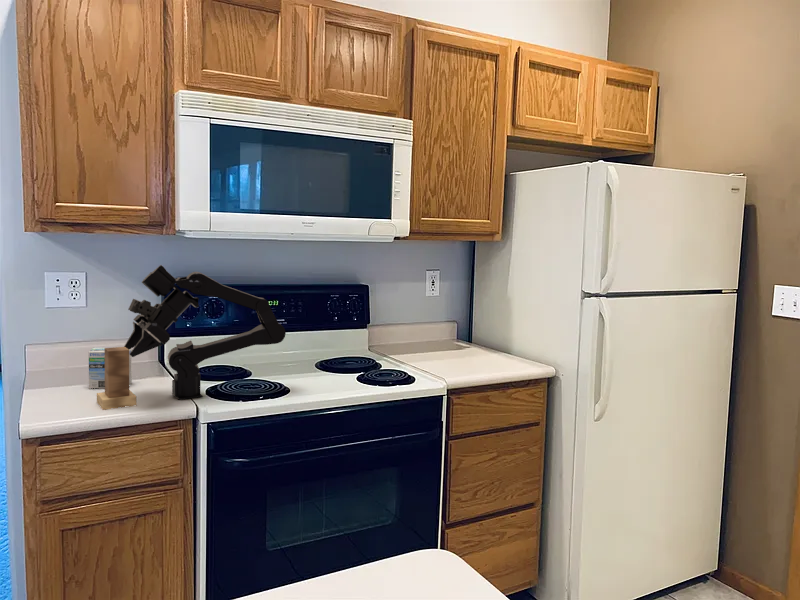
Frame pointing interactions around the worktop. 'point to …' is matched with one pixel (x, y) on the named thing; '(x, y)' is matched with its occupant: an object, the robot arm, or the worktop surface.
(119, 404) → the oak block
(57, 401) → the worktop surface
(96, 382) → the light bulb box
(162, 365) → the worktop surface
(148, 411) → the worktop surface
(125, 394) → the walnut block
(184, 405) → the worktop surface
